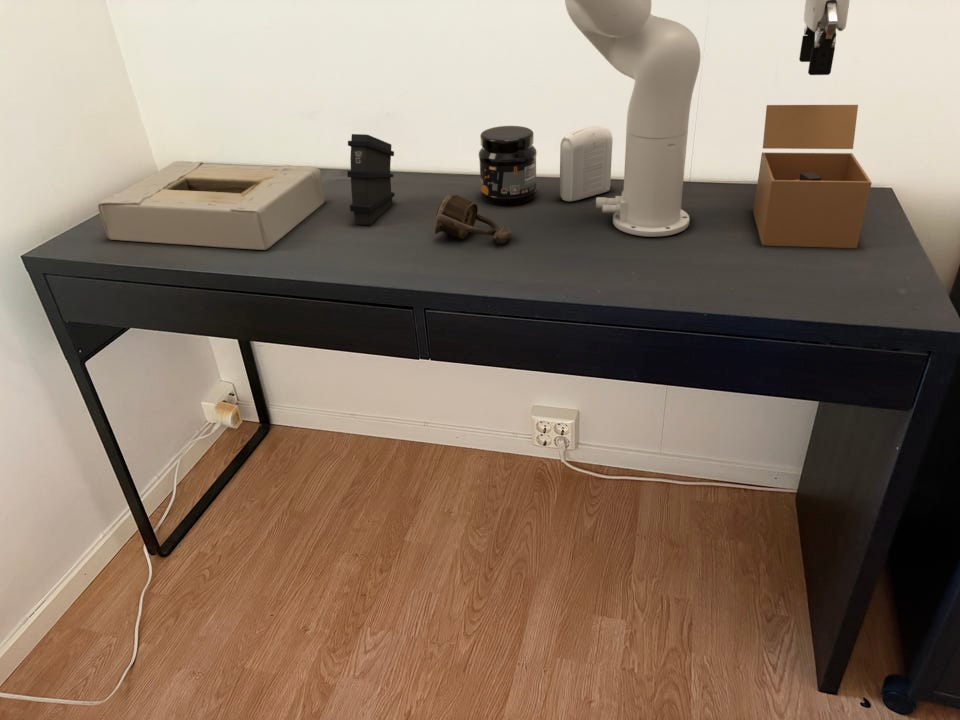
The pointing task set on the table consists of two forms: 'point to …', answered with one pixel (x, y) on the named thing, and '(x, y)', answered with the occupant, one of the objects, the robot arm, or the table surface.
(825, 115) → the flap
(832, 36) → the robot arm
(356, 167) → the black banded case
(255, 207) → the box
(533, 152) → the supplement container
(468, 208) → the brown knobbed piece
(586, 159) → the white rounded upright block
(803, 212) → the carton
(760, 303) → the table surface
